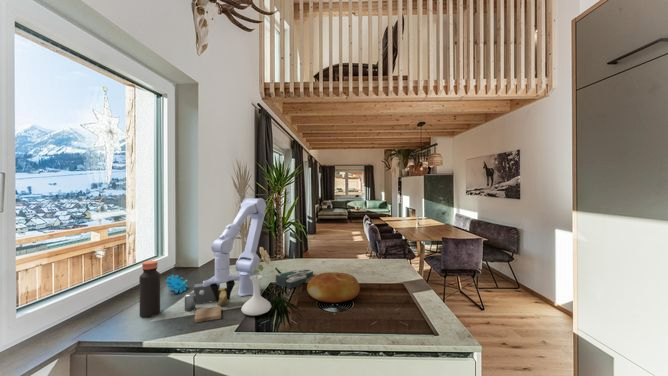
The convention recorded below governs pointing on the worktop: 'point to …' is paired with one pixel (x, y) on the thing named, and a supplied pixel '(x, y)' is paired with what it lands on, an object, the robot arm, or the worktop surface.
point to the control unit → (204, 293)
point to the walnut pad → (207, 314)
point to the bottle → (149, 290)
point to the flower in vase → (257, 291)
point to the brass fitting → (222, 296)
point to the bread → (333, 287)
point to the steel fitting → (190, 301)
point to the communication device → (292, 278)
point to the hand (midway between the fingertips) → (222, 300)
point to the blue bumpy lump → (176, 283)
